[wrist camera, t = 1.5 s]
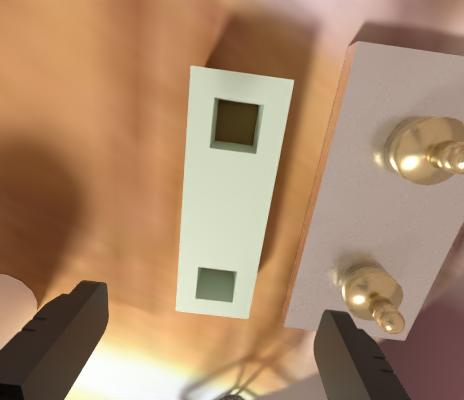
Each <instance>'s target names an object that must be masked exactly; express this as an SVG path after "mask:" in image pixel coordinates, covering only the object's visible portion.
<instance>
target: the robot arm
mask: <svg viewBox="0 0 464 400" xmlns="http://www.w3.org/2000/svg"><path fill="white" fill-rule="evenodd" d="M108 317H109V312H108V292H107V284H106V283H103V282H95V281H86V280H83V281H81V282H80V283H79V284H78V285H77V286H76V287H75V288H74V289H73V290H72V292H71V293H70V294H61V295H60V296H58V297H56V298H55V299H53V300H52V301H50V302H48V303H47V304H45V305H44V306H43V307H42V308H41V309H40V310H39V311H38V312H37V313H36V314H35V315H34V316H33V319H32V320H29V322H28V323H27V324H26V325H25V326H24V327H23V328H22V330H21V331H19V332H18V333H17V334H16V335H15V336H14V337H13V338H12V339H11V340H10V341H9V342H8V343H7V344H6V345H5V346H4V347H3V348H2V349H1V350H0V400H64V399H65V397H66V396H67V394H68V392H69V391H70V389H71V387H72V386H73V384H74V382H75V381H76V379H77V377H78V376H79V374H80V372H81V371H82V369H83V367H84V366H85V364H86V362H87V361H88V359H89V357H90V356H91V354H92V352H93V351H94V349H95V347H96V346H97V344H98V342H99V341H100V339H101V337H102V336H103V334H104V332H105V329H106V326H107V323H108ZM314 356H315V360H316V363H317V366H318V370H319V373H320V376H321V379H322V382H323V385H324V389H325V392H326V395H327V398H328V400H411V399H410V398H409V396H408V394H407V393H406V391H405V389H404V388H403V386H402V384H401V383H400V381H399V379H398V378H397V376H396V375H395V374H394V373H393V369H392V368H391V366H390V364H389V363H388V362H387V361H386V360H385V356H384V355H383V353H382V351H381V350H380V348H379V346H378V345H377V343H376V342H375V341H374V340H373V339H372V338H371V337H370V336H369V335H368V334H367V333H366V332H365V331H364V330H363V329H358V328H357V327H356V325H355V323H354V321H353V319H352V318H351V316H350V314H349V313H348V312H345V311H337V310H328V309H326V310H324V312H323V314H322V317H321V321H320V324H319V327H318V330H317V333H316V336H315V340H314Z"/></svg>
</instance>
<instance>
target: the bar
mask: <svg viewBox="0 0 464 400" xmlns="http://www.w3.org/2000/svg"><path fill="white" fill-rule="evenodd" d="M293 85H294V80H291V79H284V78H277V77H269V76H262V75H255V74H248V73H241V72H234V71H226V70H219V69H212V68H205V67H198V66H191V71H190V87H189V104H188V120H187V136H186V152H185V168H184V184H183V201H182V217H181V233H180V249H179V265H178V281H177V298H176V311H180V312H189V313H198V314H207V315H216V316H225V317H234V318H243V319H248V318H249V313H250V308H251V302H252V297H253V292H254V287H255V282H256V277H257V271H258V266H259V261H260V256H261V251H262V246H263V240H264V235H265V230H266V225H267V220H268V215H269V209H270V204H271V199H272V194H273V189H274V184H275V178H276V173H277V168H278V163H279V158H280V153H281V147H282V142H283V137H284V132H285V127H286V122H287V116H288V111H289V106H290V101H291V96H292V91H293ZM219 100H226V101H233V102H241V103H248V104H255V105H259V107H258V114H257V120H256V127H255V133H254V140H253V145H246V144H238V143H230V142H223V141H215V133H216V123H217V113H218V103H219ZM203 268H211V269H203ZM212 269H219V270H212ZM220 270H228V271H220ZM229 271H233V272H229Z"/></svg>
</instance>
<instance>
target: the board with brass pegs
mask: <svg viewBox="0 0 464 400" xmlns="http://www.w3.org/2000/svg"><path fill="white" fill-rule="evenodd" d="M463 222H464V56H459V55H452V54H445V53H438V52H431V51H424V50H417V49H411V48H404V47H397V46H390V45H383V44H376V43H369V42H362V41H357V42H355V43H354V44H352V45H350V46H348V50H347V54H346V58H345V62H344V66H343V70H342V74H341V78H340V82H339V86H338V90H337V94H336V97H335V101H334V105H333V109H332V113H331V117H330V121H329V125H328V129H327V133H326V137H325V141H324V145H323V149H322V153H321V157H320V161H319V165H318V169H317V173H316V177H315V181H314V185H313V189H312V193H311V197H310V201H309V205H308V209H307V213H306V217H305V221H304V225H303V229H302V233H301V237H300V241H299V245H298V249H297V253H296V257H295V261H294V265H293V269H292V273H291V277H290V281H289V285H288V289H287V293H286V297H285V301H284V305H283V309H282V313H281V317H282V322H283V327H288V328H297V329H306V330H315V331H317V330H318V327H319V324H320V321H321V317H322V314H323V312H324V310H326V309H328V310H337V311H345V312H348V313H349V314H350V316H351V318H352V319H353V321H354V323H355V325H356V327H357V328H358V329H363V330H364V331H365V332H366V333H367V334H368V335H369V336H370V337H377V338H386V339H395V340H405V339H406V337H407V335H408V333H409V331H410V329H411V327H412V325H413V323H414V321H415V319H416V317H417V315H418V313H419V311H420V309H421V307H422V304H423V302H424V300H425V298H426V296H427V294H428V292H429V290H430V288H431V286H432V284H433V282H434V280H435V278H436V276H437V274H438V272H439V270H440V268H441V266H442V264H443V262H444V260H445V258H446V256H447V254H448V252H449V250H450V248H451V246H452V244H453V242H454V240H455V238H456V236H457V234H458V232H459V230H460V228H461V226H462V224H463Z"/></svg>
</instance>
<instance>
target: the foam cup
mask: <svg viewBox="0 0 464 400" xmlns="http://www.w3.org/2000/svg"><path fill="white" fill-rule="evenodd" d="M37 303H38V302H37V300H36V298H35V296H34V294H33V292H32V290H30V289H29V288H28V287H27V286H26V285H25V284H24V283H23V282H22V281H20V280H18V279H15V278H13V277H11V276H9V275H5V274H0V350H1V349H2V348H3V347H4V346H5V345H6V344H7V343H8V342H9V341H10V340H11V339H12V338H13V337H14V336H15V335H16V334H17V333H18V332H19V331H21V330H22V328H23V327H24V326H25V325H26V324H27V323H28V322H29V320H31V319H32V318H33V316H34V315H35V314H36V313H37Z"/></svg>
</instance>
